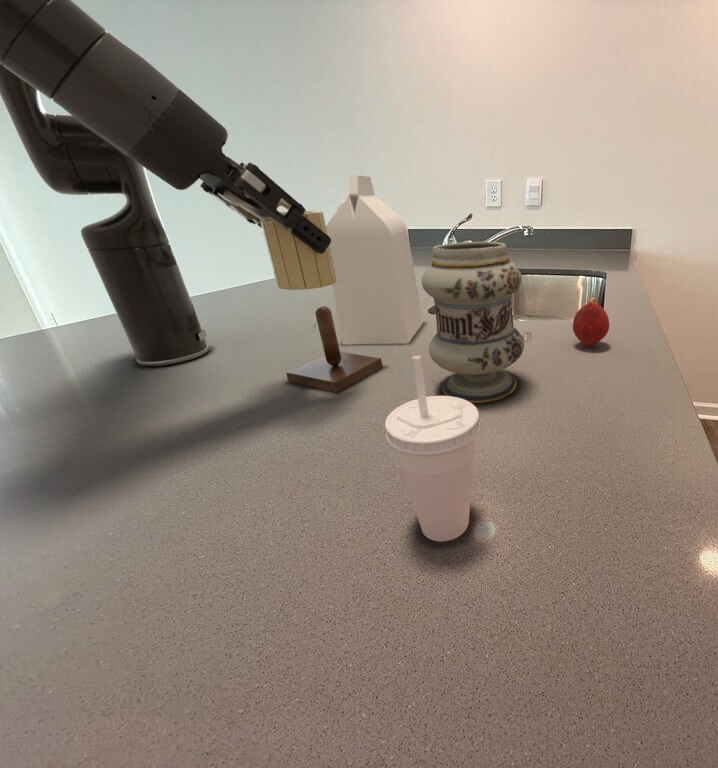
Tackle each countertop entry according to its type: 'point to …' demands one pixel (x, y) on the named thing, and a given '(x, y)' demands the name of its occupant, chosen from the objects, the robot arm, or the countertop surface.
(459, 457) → the smoothie
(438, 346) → the apothecary jar
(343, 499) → the countertop surface
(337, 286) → the milk
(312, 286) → the wooden slatted cup
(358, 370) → the stand
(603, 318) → the onion
